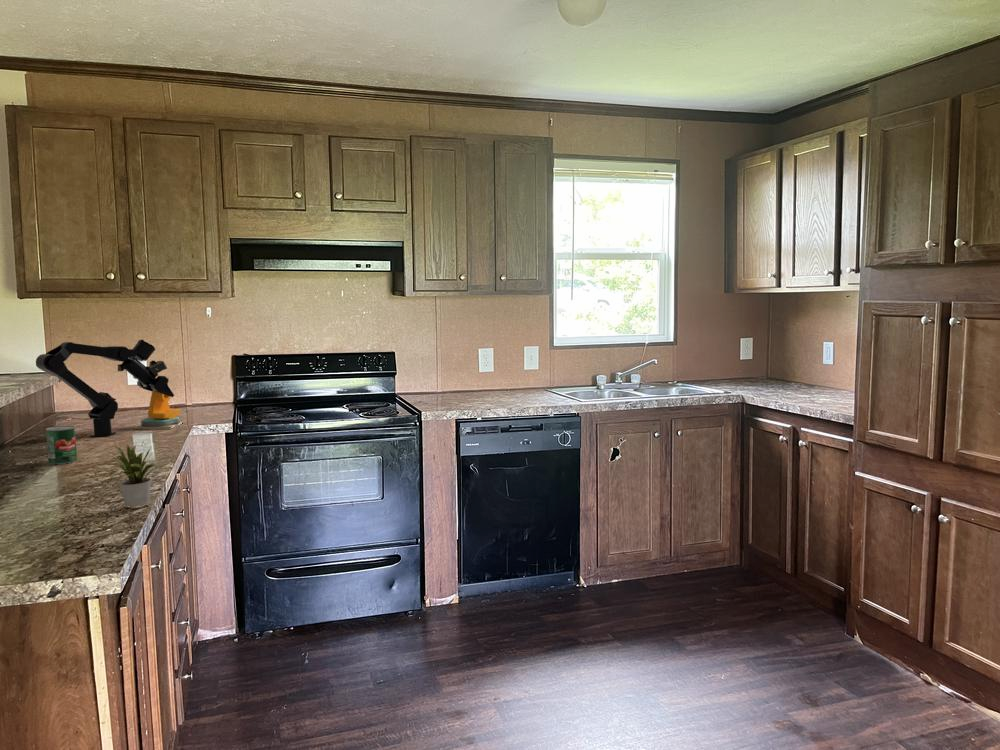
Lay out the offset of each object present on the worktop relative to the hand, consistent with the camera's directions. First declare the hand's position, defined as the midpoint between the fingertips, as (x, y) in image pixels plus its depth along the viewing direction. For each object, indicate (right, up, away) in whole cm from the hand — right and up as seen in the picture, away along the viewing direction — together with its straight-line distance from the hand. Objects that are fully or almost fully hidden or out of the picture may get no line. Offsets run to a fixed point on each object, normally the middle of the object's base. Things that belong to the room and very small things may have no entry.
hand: (168, 395), depth 299 cm
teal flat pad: (-3, -12, -1) cm, 13 cm away
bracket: (-1, -9, 0) cm, 9 cm away
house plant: (+41, -24, -114) cm, 124 cm away
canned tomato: (-6, -20, -63) cm, 66 cm away
